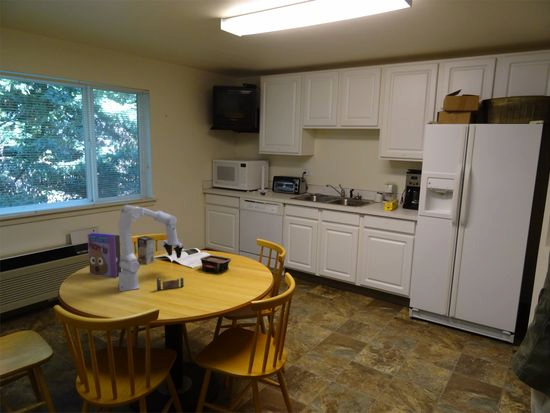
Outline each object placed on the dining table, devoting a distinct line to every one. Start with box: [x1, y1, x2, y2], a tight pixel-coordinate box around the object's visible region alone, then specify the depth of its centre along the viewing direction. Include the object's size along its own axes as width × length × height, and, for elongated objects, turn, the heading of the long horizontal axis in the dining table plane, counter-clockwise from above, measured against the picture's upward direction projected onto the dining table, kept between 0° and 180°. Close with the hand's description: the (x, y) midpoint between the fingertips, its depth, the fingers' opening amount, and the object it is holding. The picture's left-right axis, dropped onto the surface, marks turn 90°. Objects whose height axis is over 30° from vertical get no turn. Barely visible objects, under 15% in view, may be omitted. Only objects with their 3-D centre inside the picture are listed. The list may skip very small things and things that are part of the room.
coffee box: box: [137, 235, 155, 265], centre depth 241 cm, size 9×6×16 cm
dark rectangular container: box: [199, 254, 232, 274], centre depth 230 cm, size 14×18×10 cm
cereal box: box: [86, 232, 122, 279], centre depth 216 cm, size 17×5×24 cm, turn 76°
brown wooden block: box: [161, 278, 180, 290], centre depth 200 cm, size 8×2×4 cm, turn 114°
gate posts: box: [156, 277, 184, 292], centre depth 200 cm, size 14×2×6 cm, turn 114°
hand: (174, 256), depth 222 cm, fingers open, 7 cm apart
